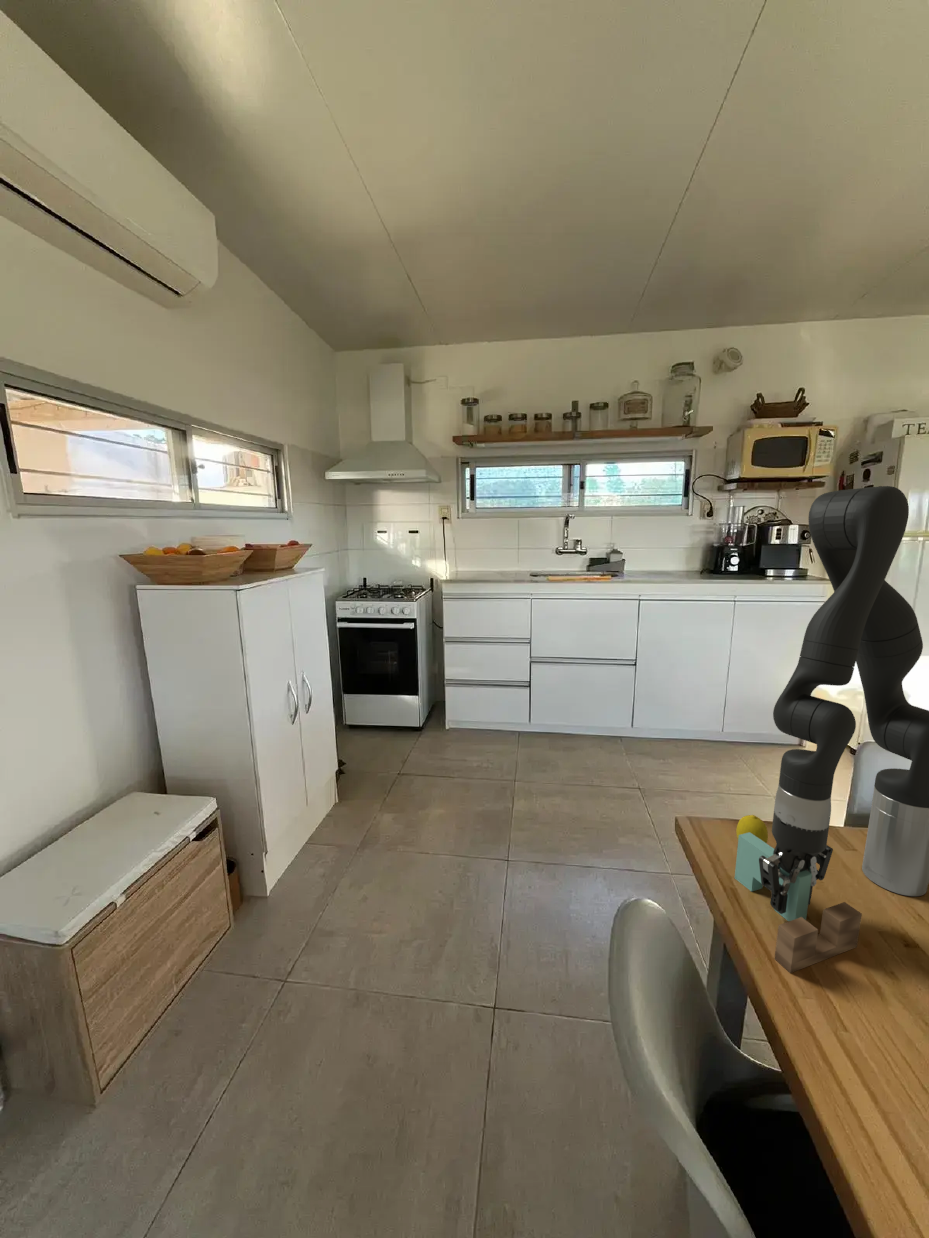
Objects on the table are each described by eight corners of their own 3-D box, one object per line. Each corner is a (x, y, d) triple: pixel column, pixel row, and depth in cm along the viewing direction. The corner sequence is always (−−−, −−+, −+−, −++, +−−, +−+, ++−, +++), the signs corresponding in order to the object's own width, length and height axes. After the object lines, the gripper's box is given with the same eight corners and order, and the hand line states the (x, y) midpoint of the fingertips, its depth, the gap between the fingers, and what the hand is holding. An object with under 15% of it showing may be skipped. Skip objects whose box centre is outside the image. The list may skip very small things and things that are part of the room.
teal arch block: (734, 878, 94) (738, 834, 92) (745, 874, 94) (749, 832, 93) (794, 925, 82) (800, 877, 81) (805, 921, 83) (811, 874, 82)
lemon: (770, 861, 98) (774, 824, 96) (739, 858, 99) (743, 822, 98) (760, 844, 103) (763, 809, 102) (731, 841, 104) (734, 806, 103)
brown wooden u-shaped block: (839, 934, 81) (844, 901, 80) (856, 946, 78) (861, 913, 77) (774, 958, 76) (778, 924, 75) (790, 973, 74) (794, 938, 73)
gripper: (811, 794, 87) (800, 881, 90) (747, 810, 82) (738, 900, 86) (856, 818, 80) (842, 911, 83) (789, 837, 75) (778, 934, 79)
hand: (790, 905), depth 84 cm, fingers open, 5 cm apart
